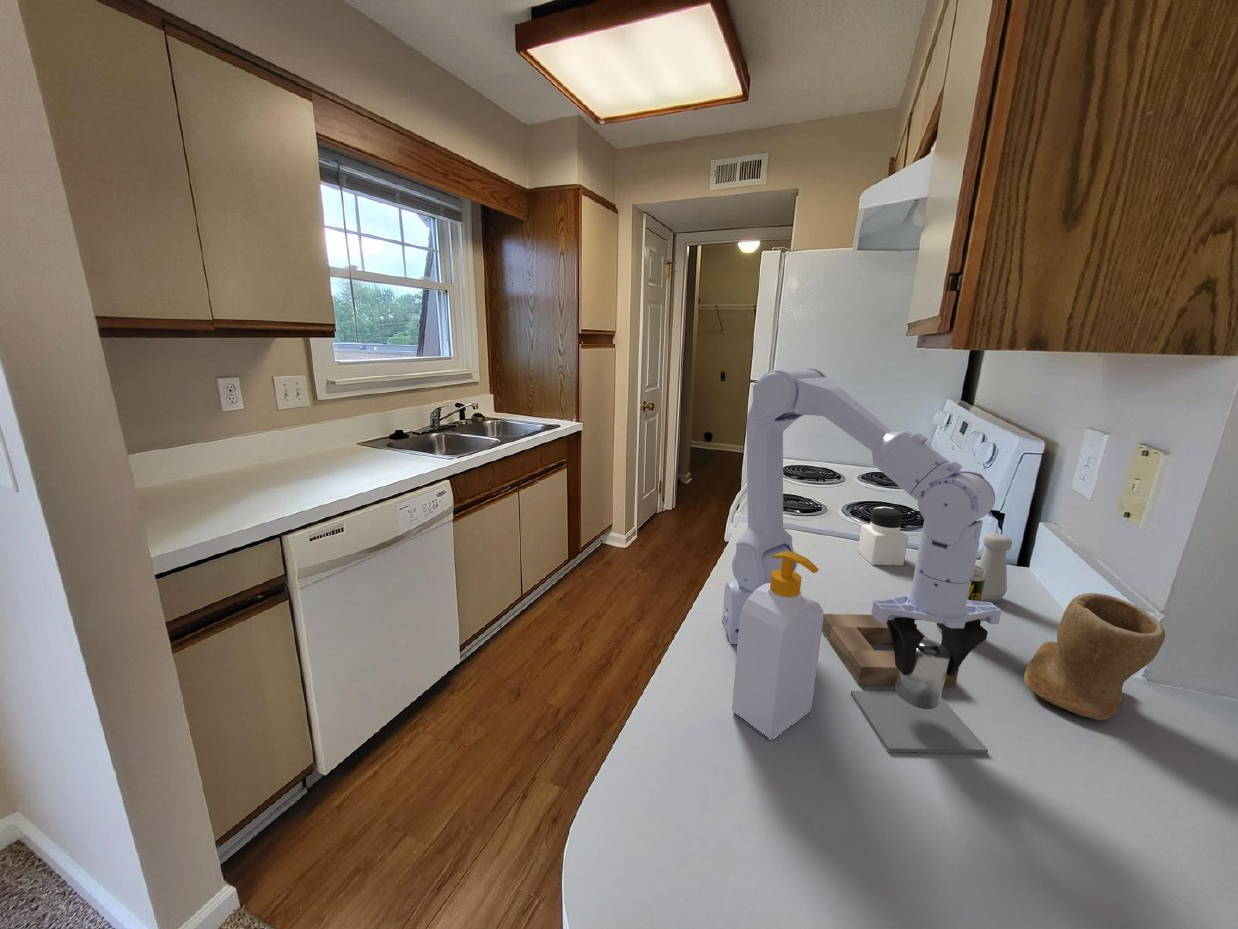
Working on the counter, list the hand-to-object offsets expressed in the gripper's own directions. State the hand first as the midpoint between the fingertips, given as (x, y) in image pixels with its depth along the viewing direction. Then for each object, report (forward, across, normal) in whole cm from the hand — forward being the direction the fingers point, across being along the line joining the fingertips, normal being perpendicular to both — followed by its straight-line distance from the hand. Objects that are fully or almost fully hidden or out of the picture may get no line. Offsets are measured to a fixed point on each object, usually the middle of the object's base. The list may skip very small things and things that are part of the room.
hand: (924, 670), depth 62 cm
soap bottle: (+8, -18, +1) cm, 20 cm away
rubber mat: (+8, 0, 0) cm, 8 cm away
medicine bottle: (+8, +21, +50) cm, 55 cm away
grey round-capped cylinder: (+4, 0, 0) cm, 4 cm away
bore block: (+8, +3, +14) cm, 16 cm away
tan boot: (+8, +27, +6) cm, 29 cm away
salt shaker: (+8, +33, +33) cm, 47 cm away
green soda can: (+8, +19, +21) cm, 29 cm away
